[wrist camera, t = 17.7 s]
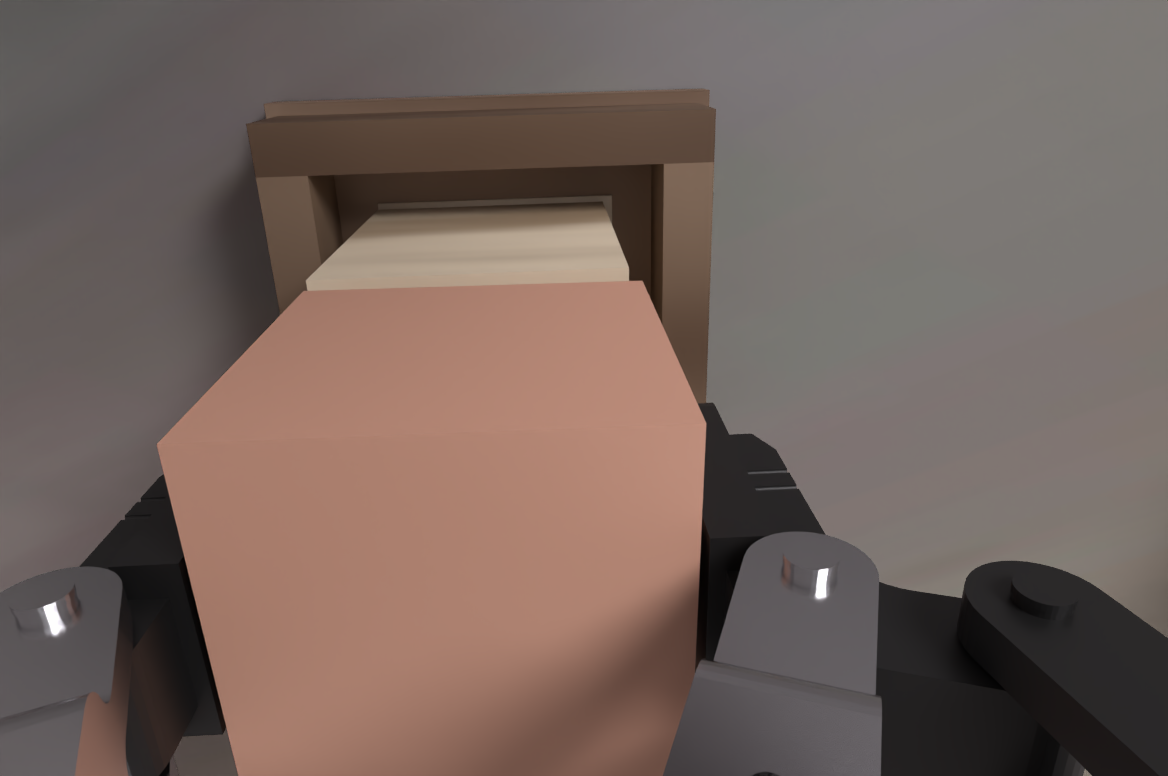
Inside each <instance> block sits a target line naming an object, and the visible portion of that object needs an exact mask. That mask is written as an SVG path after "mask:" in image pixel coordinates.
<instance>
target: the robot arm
mask: <svg viewBox="0 0 1168 776" xmlns="http://www.w3.org/2000/svg"><path fill="white" fill-rule="evenodd" d="M697 404H698V406H699V408H700V410H701V413H702V415H703V417H704V419H705V421H706V443H705V465H704V487H703V508H702V530H701V552H700V573H699V595H698V617H697V638H696V660H695V675H694V678H693V681H692V685H691V688H690V691H689V694H688V697H687V700H686V704H685V707H684V710H683V713H682V716H681V719H680V723H679V726H678V729H677V732H676V735H675V738H674V742H673V745H672V748H671V751H670V754H669V757H668V760H667V764H666V767H665V770H664V773H663V776H1083V773H1084V770H1085V769H1086V770H1087V771H1088V772H1089V773H1090V774H1091V775H1092V776H1168V638H1167V637H1165V636H1164V635H1162V634H1161V633H1160V632H1158V631H1157V630H1156V629H1154V628H1153V627H1151V626H1150V625H1149V624H1147V623H1146V622H1144V621H1143V620H1142V619H1140V618H1139V617H1138V616H1136V615H1135V614H1133V613H1132V612H1131V611H1129V610H1128V609H1126V608H1125V607H1124V606H1122V605H1121V604H1120V603H1118V602H1117V601H1115V600H1114V599H1113V598H1111V597H1110V596H1108V595H1107V594H1106V593H1104V592H1103V591H1102V590H1100V589H1099V588H1097V587H1096V586H1094V585H1092V584H1091V583H1089V582H1087V581H1085V580H1083V579H1082V578H1080V577H1078V576H1075V575H1073V574H1070V573H1068V572H1066V571H1063V570H1060V569H1057V568H1054V567H1050V566H1046V565H1042V564H1037V563H1031V562H1023V561H999V562H992V563H988V564H984V565H982V566H980V567H978V568H976V569H974V570H973V571H972V572H971V573H970V574H969V575H968V577H967V578H966V581H965V585H964V590H963V596H962V598H957V597H950V596H944V595H937V594H931V593H924V592H917V591H911V590H906V589H901V588H897V587H893V586H890V585H886V584H884V583H881V582H879V574H878V571H877V568H876V566H875V564H874V563H873V562H872V560H871V559H870V558H869V557H868V556H867V555H866V554H865V553H864V552H862V551H861V550H859V549H858V548H856V547H855V546H853V545H851V544H849V543H847V542H845V541H842V540H840V539H837V538H834V537H831V536H828V535H825V533H824V531H823V530H822V528H821V526H820V525H819V523H818V521H817V519H816V518H815V516H814V514H813V513H812V511H811V509H810V507H809V506H808V504H807V502H806V501H805V499H804V497H803V495H802V494H801V492H800V490H799V489H797V488H796V483H795V482H794V480H793V478H792V477H791V475H790V473H787V468H786V466H785V465H784V463H783V461H782V459H781V458H780V456H779V454H778V453H777V451H776V449H774V448H773V447H771V446H770V445H768V444H766V443H765V442H763V441H762V440H760V439H759V438H757V437H756V436H754V435H753V434H735V435H729V433H728V431H727V429H726V427H725V425H724V423H723V421H722V419H721V417H720V415H719V413H718V411H717V409H716V407H715V405H714V403H697ZM225 728H226V724H225V720H224V715H223V711H222V707H221V703H220V699H219V695H218V691H217V687H216V683H215V679H214V675H213V671H212V667H211V663H210V659H209V655H208V651H207V647H206V643H205V638H204V634H203V630H202V626H201V622H200V618H199V614H198V610H197V606H196V602H195V598H194V594H193V590H192V586H191V582H190V578H189V574H188V570H187V565H186V561H185V557H184V553H183V549H182V545H181V541H180V537H179V533H178V529H177V525H176V521H175V517H174V513H173V509H172V505H171V501H170V497H169V492H168V488H167V484H166V480H165V476H164V475H162V476H161V477H159V478H158V479H157V481H156V482H155V483H154V484H153V485H152V486H151V487H150V488H149V489H148V491H147V492H146V493H145V494H144V495H143V496H142V497H141V502H137V503H136V504H135V505H134V506H133V507H132V508H131V510H130V511H129V512H128V513H127V514H126V515H125V520H121V521H120V522H119V523H118V524H117V525H116V526H115V527H114V529H113V530H112V531H111V532H110V533H109V534H108V535H107V536H106V538H105V539H104V540H103V541H102V542H101V543H100V544H99V545H98V546H97V548H96V549H95V550H94V551H93V552H92V553H91V554H90V555H89V557H88V558H87V559H86V560H85V561H84V562H83V563H82V564H81V565H80V567H73V568H66V569H60V570H55V571H52V572H48V573H44V574H41V575H38V576H35V577H32V578H29V579H27V580H25V581H22V582H20V583H18V584H15V585H13V586H11V587H10V588H8V589H6V590H4V591H2V592H1V593H0V776H179V773H178V769H177V766H176V763H175V759H174V756H173V754H174V752H175V750H176V748H177V746H178V744H179V742H180V740H181V738H182V737H183V736H200V735H217V734H223V733H224V731H225Z"/></svg>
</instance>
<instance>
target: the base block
mask: <svg viewBox="0 0 1168 776" xmlns="http://www.w3.org/2000/svg"><path fill="white" fill-rule="evenodd" d="M614 281H629V266H628V264H627V261H626V259H625V256H624V254H623V251H622V249H621V246H620V244H619V241H618V239H617V236H616V234H615V231H614V229H613V226H612V224H611V221H610V219H609V216H608V214H607V211H606V209H605V206H604V204H603V201H601V202H575V203H548V204H521V205H494V206H467V207H440V208H413V209H387V210H377V211H376V212H375V213H374V214H373V215H372V216H371V217H370V218H369V219H368V220H367V221H366V222H365V223H364V224H363V225H362V226H361V227H360V228H359V229H358V230H357V231H356V232H355V233H354V234H353V235H352V236H351V237H350V238H349V239H348V240H347V241H346V242H345V243H344V244H343V245H342V246H341V247H339V248H338V249H337V250H336V251H335V252H334V253H333V254H332V255H331V256H330V257H329V258H328V259H327V260H326V261H325V262H324V263H323V264H322V265H321V266H320V267H319V268H318V269H317V270H316V271H315V272H314V273H313V274H312V275H311V276H310V277H309V278H308V279H307V280H306V285H307V291H318V290H351V289H384V288H416V287H449V286H482V285H515V284H548V283H581V282H614Z"/></svg>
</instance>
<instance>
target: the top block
mask: <svg viewBox="0 0 1168 776" xmlns="http://www.w3.org/2000/svg"><path fill="white" fill-rule="evenodd" d="M705 443H706V421H705V419H704V417H703V415H702V413H701V410H700V408H699V406H698V404H697V401H696V399H695V397H694V395H693V392H692V390H691V388H690V386H689V384H688V381H687V379H686V377H685V375H684V372H683V370H682V368H681V366H680V363H679V361H678V359H677V357H676V355H675V352H674V350H673V348H672V346H671V343H670V341H669V339H668V337H667V334H666V332H665V330H664V328H663V325H662V323H661V321H660V319H659V317H658V314H657V312H656V310H655V308H654V305H653V303H652V301H651V299H650V296H649V294H648V292H647V290H646V288H645V285H644V283H643V281H614V282H581V283H548V284H515V285H482V286H449V287H416V288H384V289H351V290H318V291H303V292H302V293H301V294H300V295H299V296H298V297H297V298H296V299H295V300H294V301H293V302H292V303H291V304H290V306H289V307H288V308H287V309H286V310H285V311H284V312H283V313H282V314H281V315H280V316H279V317H278V318H277V319H276V320H275V321H274V322H273V323H272V324H271V325H270V326H269V327H268V329H267V330H266V331H265V332H264V333H263V334H262V335H261V336H260V337H259V338H258V339H257V340H256V341H255V342H254V343H253V344H252V345H251V346H250V347H249V348H248V349H247V350H246V351H245V353H244V354H243V355H242V356H241V357H240V358H239V359H238V360H237V361H236V362H235V363H234V364H233V365H232V366H231V367H230V368H229V369H228V370H227V371H226V372H225V373H224V374H223V376H222V377H221V378H220V379H219V380H218V381H217V382H216V383H215V384H214V385H213V386H212V387H211V388H210V389H209V390H208V391H207V392H206V393H205V394H204V395H203V396H202V397H201V398H200V400H199V401H198V402H197V403H196V404H195V405H194V406H193V407H192V408H191V409H190V410H189V411H188V412H187V413H186V414H185V415H184V416H183V417H182V418H181V419H180V420H179V421H178V423H177V424H176V425H175V426H174V427H173V428H172V429H171V430H170V431H169V432H168V433H167V434H166V435H165V436H164V437H163V438H162V439H161V440H160V441H159V442H158V443H157V448H158V452H159V456H160V460H161V464H162V468H163V472H164V476H165V480H166V484H167V488H168V492H169V497H170V501H171V505H172V509H173V513H174V517H175V521H176V525H177V529H178V533H179V537H180V541H181V545H182V549H183V553H184V557H185V561H186V565H187V570H188V574H189V578H190V582H191V586H192V590H193V594H194V598H195V602H196V606H197V610H198V614H199V618H200V622H201V626H202V630H203V634H204V638H205V643H206V647H207V651H208V655H209V659H210V663H211V667H212V671H213V675H214V679H215V683H216V687H217V691H218V695H219V699H220V703H221V707H222V711H223V715H224V720H225V724H226V728H227V732H228V736H229V740H230V744H231V748H232V752H233V756H234V760H235V764H236V768H237V772H238V776H663V773H664V770H665V767H666V764H667V760H668V757H669V754H670V751H671V748H672V745H673V742H674V738H675V735H676V732H677V729H678V726H679V723H680V719H681V716H682V713H683V710H684V707H685V704H686V700H687V697H688V694H689V691H690V688H691V685H692V681H693V678H694V675H695V660H696V638H697V617H698V595H699V573H700V552H701V530H702V508H703V487H704V465H705Z"/></svg>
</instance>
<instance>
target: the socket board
mask: <svg viewBox="0 0 1168 776" xmlns="http://www.w3.org/2000/svg"><path fill="white" fill-rule="evenodd" d="M264 108H265V114H266V119H264V120H260V121H256V122H252V123H248V124H246V126H247V131H248V137H249V142H250V148H251V154H252V159H253V165H254V171H255V176H256V182H257V187H258V193H259V199H260V204H261V210H262V215H263V221H264V227H265V232H266V238H267V243H268V249H269V255H270V260H271V266H272V271H273V277H274V283H275V288H276V294H277V300H278V305H279V311H280V315H281V314H282V313H283V312H284V311H285V310H286V309H287V308H288V307H289V306H290V304H291V303H292V302H293V301H294V300H295V299H296V298H297V297H298V296H299V295H300V294H301V293H302V292H303V291H307V285H306V280H307V279H308V278H309V277H310V276H311V275H312V274H313V273H314V272H315V271H316V270H317V269H318V268H319V267H320V266H321V265H322V264H323V263H324V262H325V261H326V260H327V259H328V258H329V257H330V256H331V255H332V254H333V253H334V252H335V251H336V250H337V249H338V248H339V247H341V246H342V245H343V244H344V243H345V242H346V241H347V240H348V239H349V238H350V237H351V236H352V235H353V234H354V233H355V232H356V231H357V230H358V229H359V228H360V227H361V226H362V225H363V224H364V223H365V222H366V221H367V220H368V219H369V218H370V217H371V216H372V215H373V214H374V213H375V212H376V211H377V210H387V209H413V208H440V207H467V206H494V205H521V204H548V203H575V202H601V201H603V204H604V206H605V209H606V211H607V214H608V216H609V219H610V221H611V224H612V226H613V229H614V231H615V234H616V236H617V239H618V241H619V244H620V246H621V249H622V251H623V254H624V256H625V259H626V261H627V264H628V266H629V281H643V283H644V285H645V288H646V290H647V292H648V294H649V296H650V299H651V301H652V303H653V305H654V308H655V310H656V312H657V314H658V317H659V319H660V321H661V323H662V325H663V328H664V330H665V332H666V334H667V337H668V339H669V341H670V343H671V346H672V348H673V350H674V352H675V355H676V357H677V359H678V361H679V363H680V366H681V368H682V370H683V372H684V375H685V377H686V379H687V381H688V384H689V386H690V388H691V390H692V392H693V395H694V397H695V399H696V401H697V403H706V385H707V355H708V326H709V296H710V267H711V237H712V208H713V178H714V149H715V119H716V109H714V108H711V107H709V90H706V89H675V90H642V91H610V92H577V93H545V94H513V95H480V96H448V97H415V98H383V99H350V100H318V101H285V102H272V103H267V104H264Z"/></svg>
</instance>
